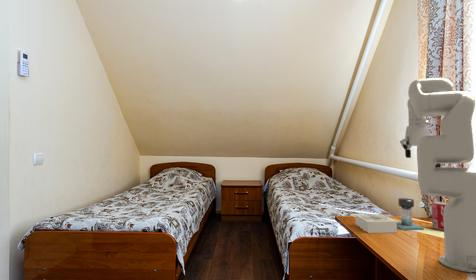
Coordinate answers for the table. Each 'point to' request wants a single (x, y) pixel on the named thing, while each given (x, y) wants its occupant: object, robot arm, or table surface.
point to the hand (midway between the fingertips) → (417, 157)
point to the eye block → (376, 223)
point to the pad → (409, 227)
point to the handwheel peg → (406, 211)
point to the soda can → (438, 215)
